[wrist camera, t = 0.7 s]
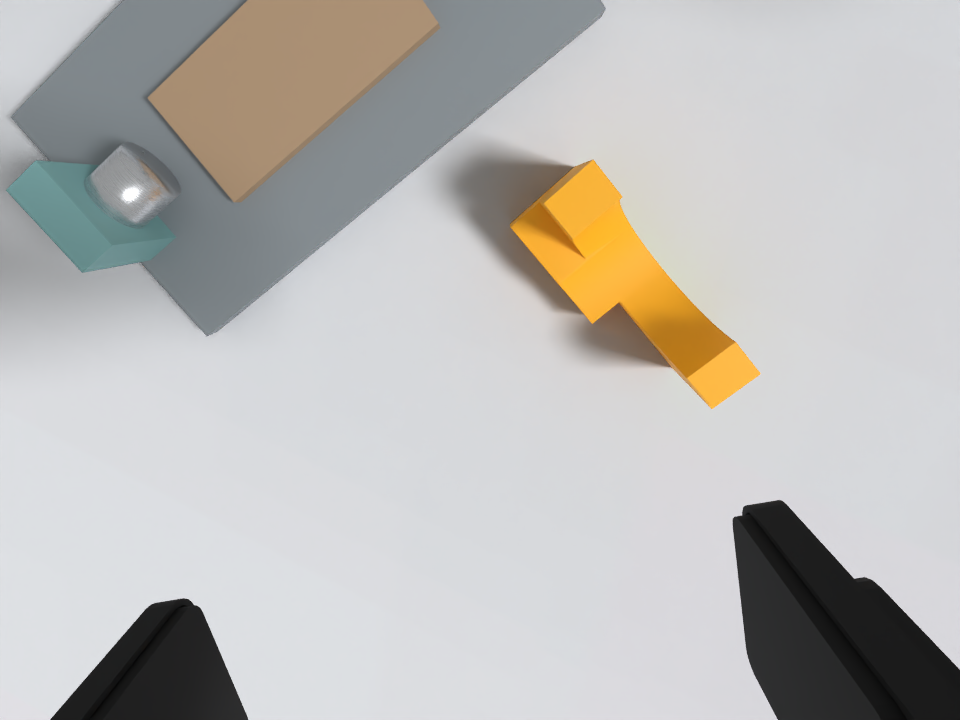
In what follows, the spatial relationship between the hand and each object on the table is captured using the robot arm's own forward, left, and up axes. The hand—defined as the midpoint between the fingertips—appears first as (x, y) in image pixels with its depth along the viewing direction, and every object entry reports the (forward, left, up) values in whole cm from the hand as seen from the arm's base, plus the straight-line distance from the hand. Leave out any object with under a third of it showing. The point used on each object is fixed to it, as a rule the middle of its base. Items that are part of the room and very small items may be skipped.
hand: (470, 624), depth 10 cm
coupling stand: (0, -16, -23) cm, 28 cm away
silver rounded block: (+10, -16, -21) cm, 28 cm away
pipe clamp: (-7, +2, -23) cm, 24 cm away
